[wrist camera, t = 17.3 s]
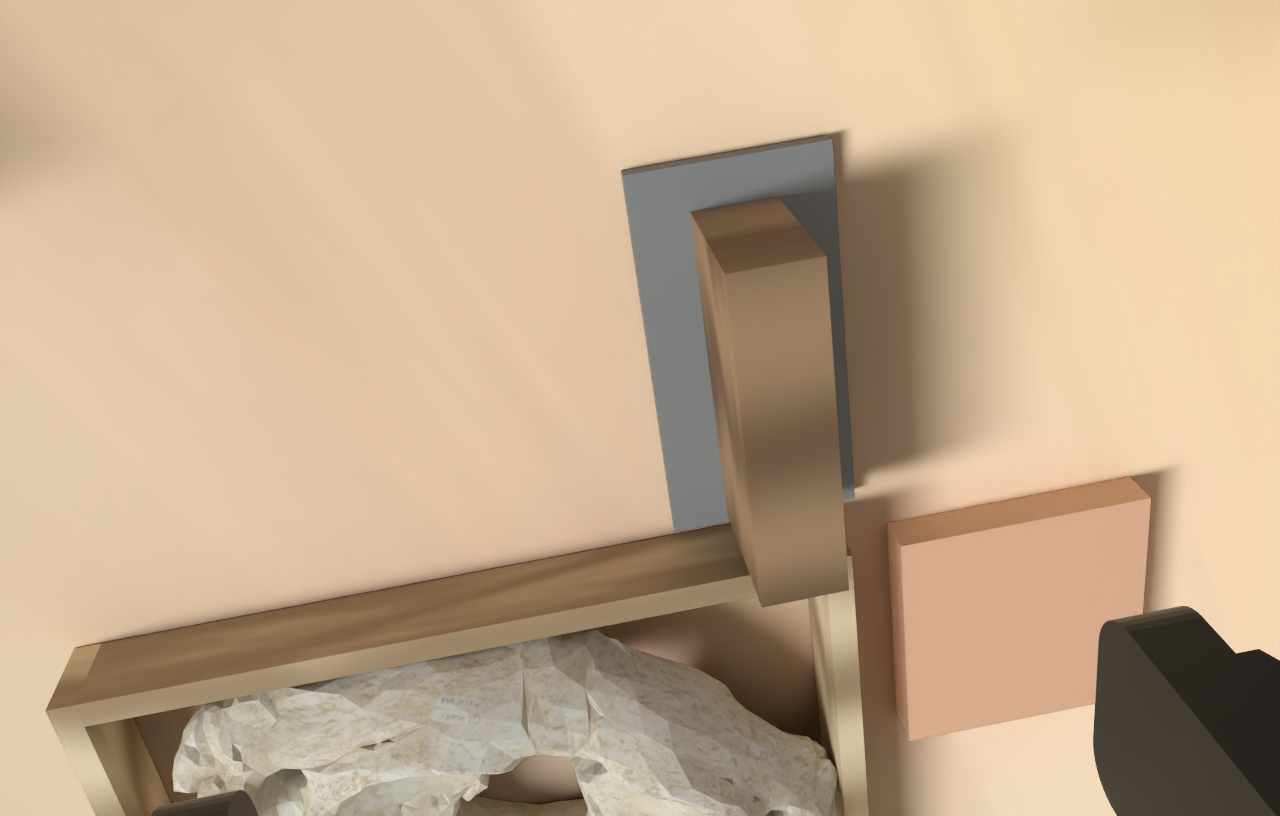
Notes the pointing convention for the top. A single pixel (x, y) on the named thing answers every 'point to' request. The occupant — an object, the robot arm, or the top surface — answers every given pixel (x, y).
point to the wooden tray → (427, 650)
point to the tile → (1011, 603)
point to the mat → (675, 303)
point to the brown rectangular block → (774, 396)
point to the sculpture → (506, 739)
